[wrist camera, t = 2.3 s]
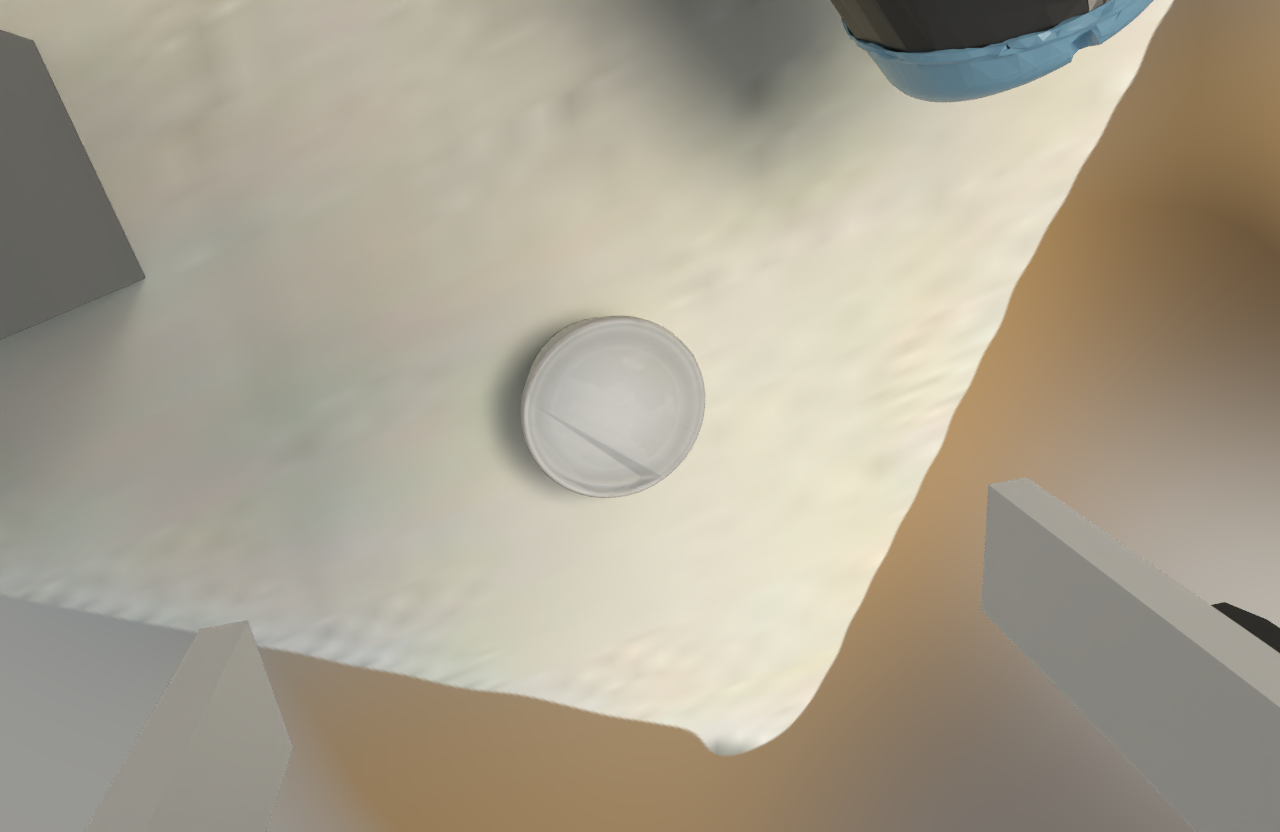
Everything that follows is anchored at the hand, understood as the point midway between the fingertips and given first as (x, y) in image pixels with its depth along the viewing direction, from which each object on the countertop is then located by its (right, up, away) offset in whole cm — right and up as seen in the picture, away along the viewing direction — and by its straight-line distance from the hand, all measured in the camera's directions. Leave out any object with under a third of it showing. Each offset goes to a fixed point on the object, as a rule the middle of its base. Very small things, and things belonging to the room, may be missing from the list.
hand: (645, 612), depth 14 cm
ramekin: (-3, +5, +38) cm, 39 cm away
